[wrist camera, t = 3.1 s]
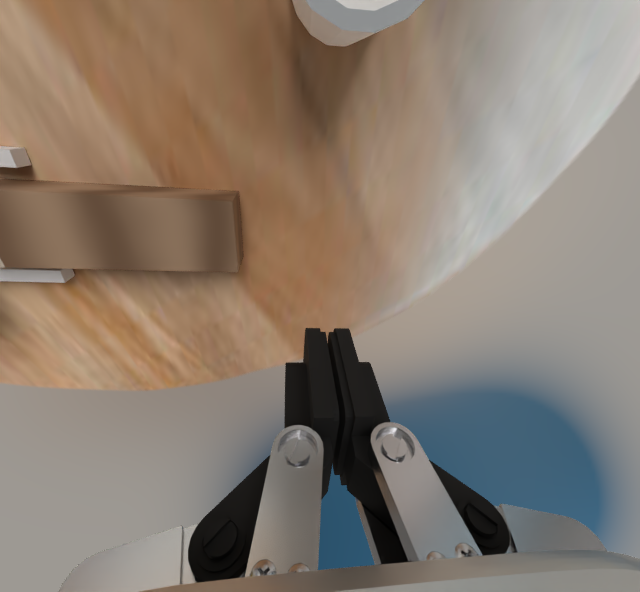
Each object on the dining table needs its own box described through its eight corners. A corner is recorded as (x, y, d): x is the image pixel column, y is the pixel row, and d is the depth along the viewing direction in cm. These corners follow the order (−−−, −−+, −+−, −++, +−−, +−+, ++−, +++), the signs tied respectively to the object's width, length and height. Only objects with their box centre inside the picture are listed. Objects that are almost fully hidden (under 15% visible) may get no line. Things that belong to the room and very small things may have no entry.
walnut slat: (239, 190, 21) (232, 201, 18) (243, 255, 24) (238, 272, 21) (-29, 176, 19) (-78, 186, 17) (8, 248, 22) (-30, 266, 19)
